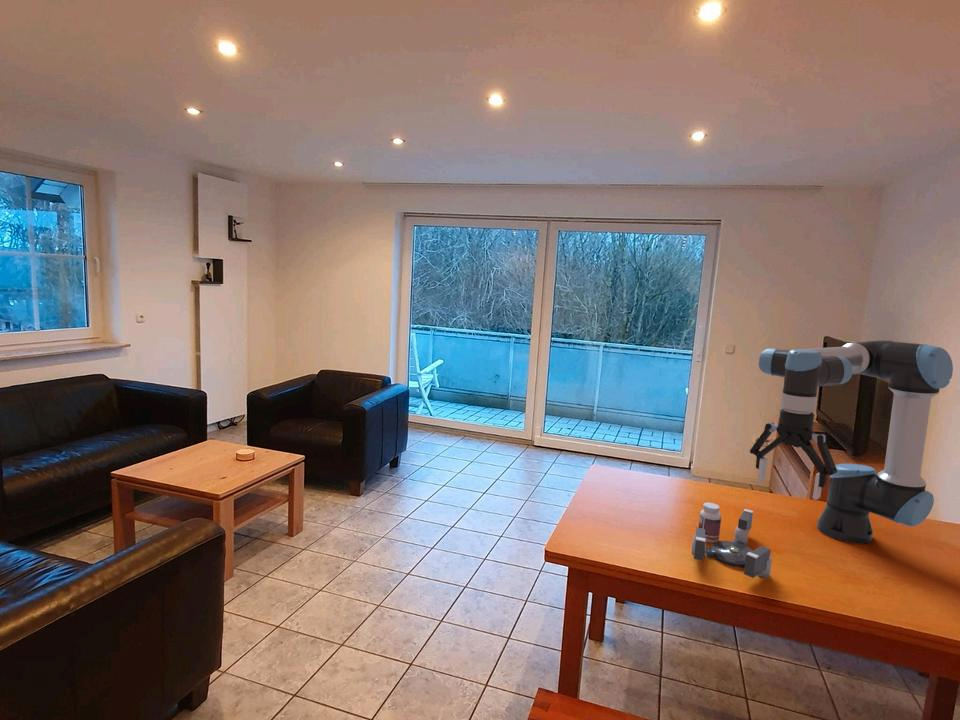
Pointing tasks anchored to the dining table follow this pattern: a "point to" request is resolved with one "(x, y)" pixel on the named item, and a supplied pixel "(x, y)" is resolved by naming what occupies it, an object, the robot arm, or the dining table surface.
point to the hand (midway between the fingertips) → (787, 489)
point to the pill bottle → (710, 521)
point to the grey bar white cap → (758, 563)
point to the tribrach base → (729, 552)
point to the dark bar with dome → (699, 544)
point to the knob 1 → (743, 527)
